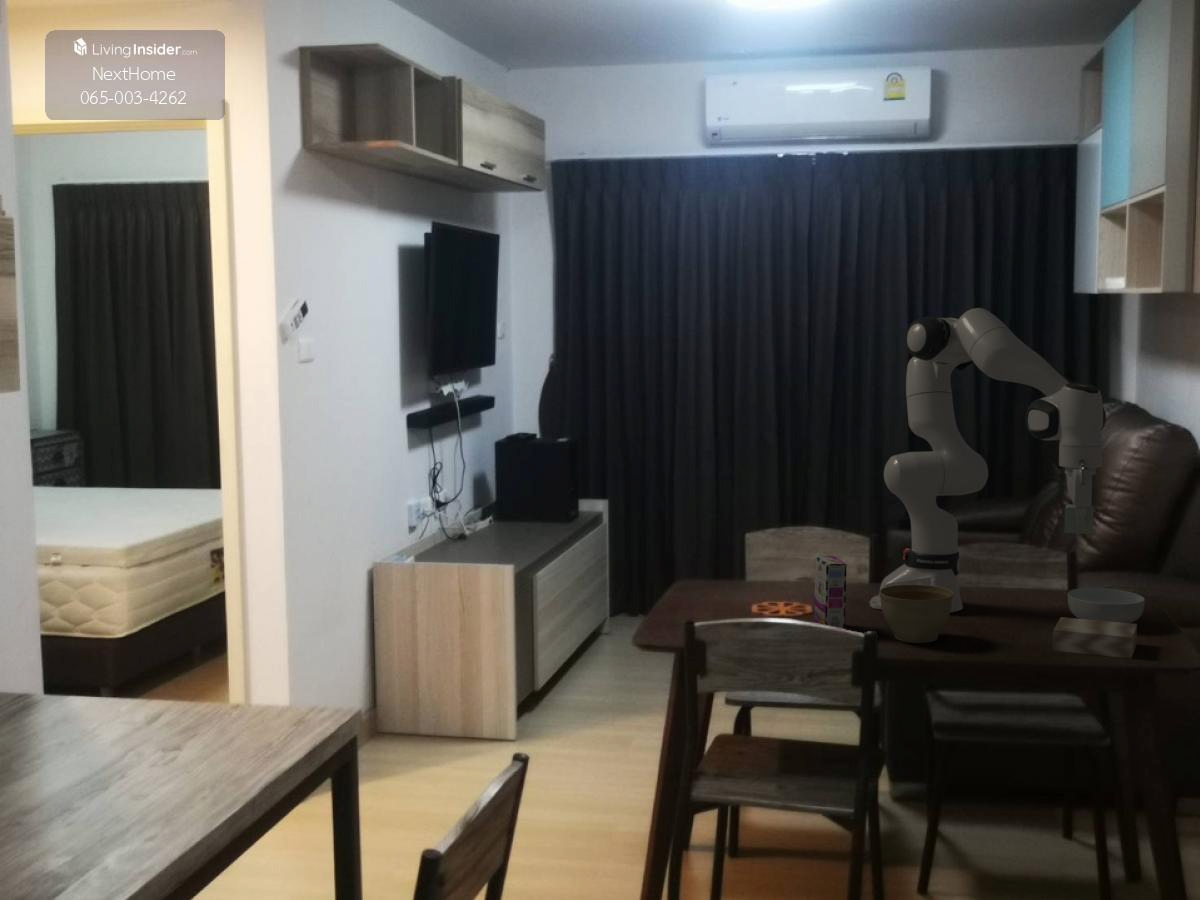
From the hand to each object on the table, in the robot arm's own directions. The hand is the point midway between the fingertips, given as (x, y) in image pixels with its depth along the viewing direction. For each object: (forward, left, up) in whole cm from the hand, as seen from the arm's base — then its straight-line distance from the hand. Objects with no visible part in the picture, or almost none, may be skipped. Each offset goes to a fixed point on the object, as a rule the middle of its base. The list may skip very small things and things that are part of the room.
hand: (1079, 521), depth 292 cm
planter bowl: (-34, -4, -28) cm, 44 cm away
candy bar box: (-54, -1, -28) cm, 61 cm away
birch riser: (+4, +1, -28) cm, 28 cm away
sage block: (0, 0, -2) cm, 2 cm away
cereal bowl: (+6, +24, -28) cm, 37 cm away
